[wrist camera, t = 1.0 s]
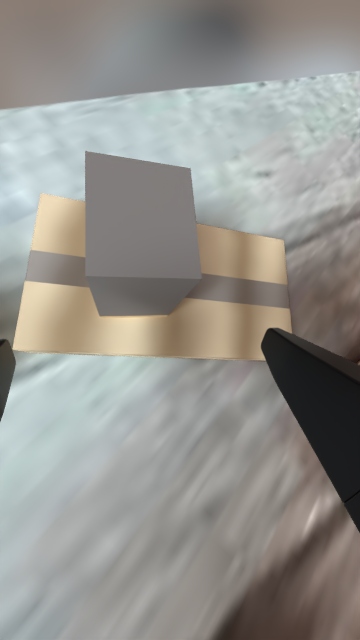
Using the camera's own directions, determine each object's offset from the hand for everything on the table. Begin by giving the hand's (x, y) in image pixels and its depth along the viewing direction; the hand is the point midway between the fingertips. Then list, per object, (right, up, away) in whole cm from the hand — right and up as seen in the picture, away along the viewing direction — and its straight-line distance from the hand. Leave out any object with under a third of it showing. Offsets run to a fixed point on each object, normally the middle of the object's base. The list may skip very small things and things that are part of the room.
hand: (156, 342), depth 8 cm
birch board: (0, +3, +14) cm, 14 cm away
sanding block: (-3, +4, +10) cm, 11 cm away
